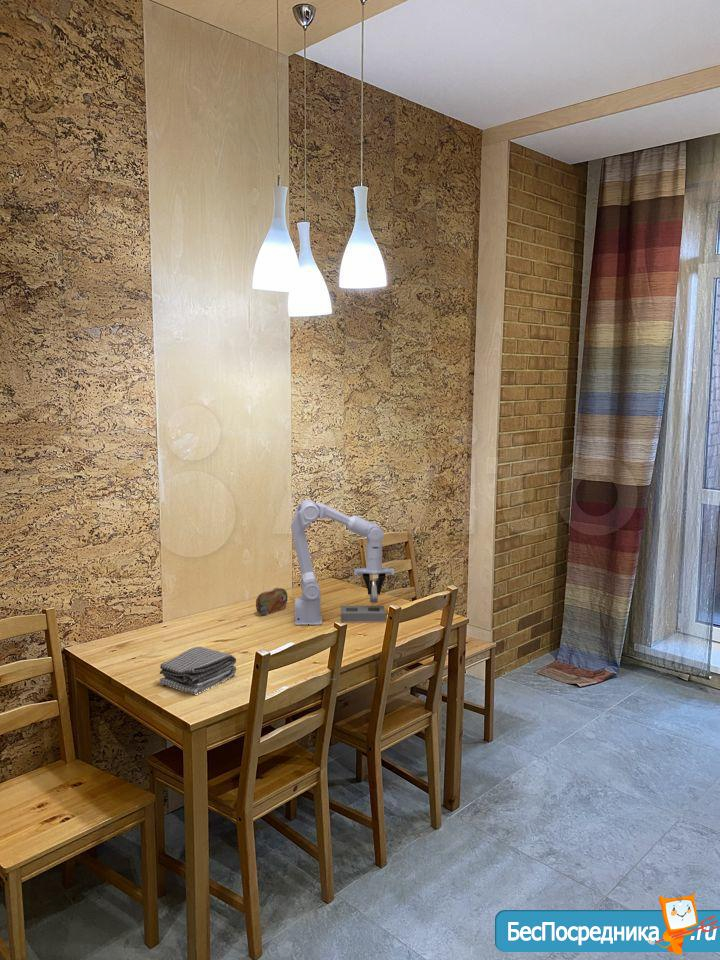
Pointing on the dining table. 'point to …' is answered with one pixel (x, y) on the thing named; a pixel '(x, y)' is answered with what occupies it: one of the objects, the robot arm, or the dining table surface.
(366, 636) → the dining table surface
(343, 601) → the dining table surface
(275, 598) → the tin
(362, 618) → the hole block
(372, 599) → the pin
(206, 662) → the towel
